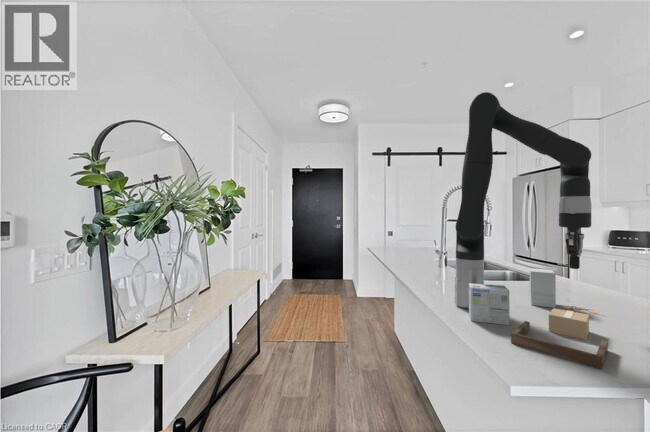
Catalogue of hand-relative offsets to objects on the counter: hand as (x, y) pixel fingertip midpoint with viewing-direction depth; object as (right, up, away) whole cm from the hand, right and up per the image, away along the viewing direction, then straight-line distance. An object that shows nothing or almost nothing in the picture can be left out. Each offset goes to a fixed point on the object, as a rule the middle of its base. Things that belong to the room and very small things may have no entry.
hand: (574, 268), depth 88 cm
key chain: (+13, -17, +12) cm, 25 cm away
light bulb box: (-25, -17, +3) cm, 30 cm away
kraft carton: (-7, -17, -6) cm, 19 cm away
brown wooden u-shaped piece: (-17, -17, -15) cm, 28 cm away
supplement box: (+4, -17, +19) cm, 26 cm away
